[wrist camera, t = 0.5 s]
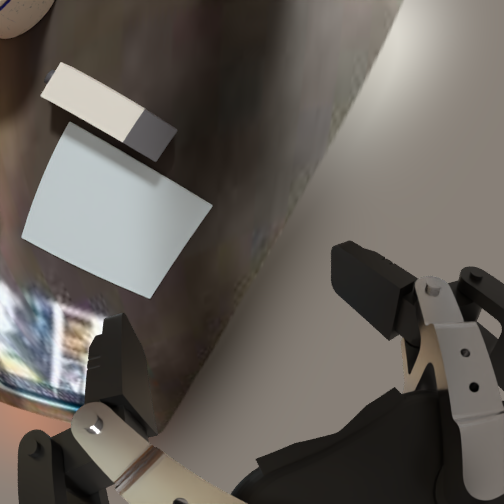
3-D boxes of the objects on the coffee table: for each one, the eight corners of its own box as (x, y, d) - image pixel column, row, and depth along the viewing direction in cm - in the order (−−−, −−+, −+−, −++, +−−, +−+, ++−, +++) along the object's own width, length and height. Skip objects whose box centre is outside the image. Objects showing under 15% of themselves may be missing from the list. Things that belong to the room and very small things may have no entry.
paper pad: (70, 121, 21) (69, 121, 20) (211, 204, 31) (212, 206, 30) (22, 236, 24) (21, 237, 24) (150, 296, 34) (150, 298, 33)
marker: (45, 92, 18) (33, 92, 15) (63, 62, 17) (53, 58, 15) (155, 155, 26) (155, 162, 23) (174, 127, 25) (177, 130, 22)
